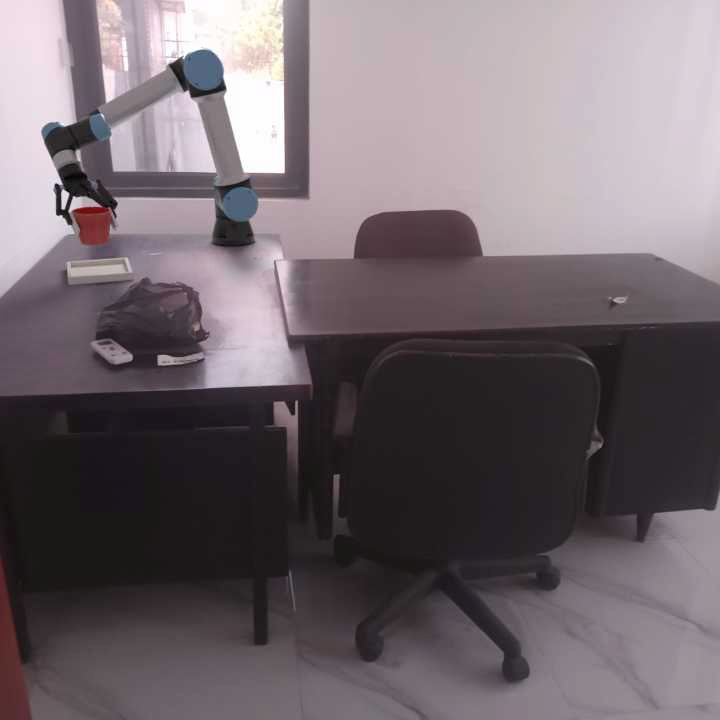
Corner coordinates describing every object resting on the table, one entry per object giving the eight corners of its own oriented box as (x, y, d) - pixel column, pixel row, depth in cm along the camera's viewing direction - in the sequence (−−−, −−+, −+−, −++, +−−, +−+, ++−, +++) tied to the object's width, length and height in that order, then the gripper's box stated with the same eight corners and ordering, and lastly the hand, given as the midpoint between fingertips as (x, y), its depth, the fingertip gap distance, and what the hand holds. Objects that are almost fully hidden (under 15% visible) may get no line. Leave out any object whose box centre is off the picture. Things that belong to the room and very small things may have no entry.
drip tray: (128, 264, 236) (127, 257, 235) (133, 279, 221) (132, 272, 220) (67, 268, 230) (66, 261, 229) (68, 285, 215) (67, 277, 214)
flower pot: (107, 247, 217) (103, 214, 213) (69, 246, 217) (65, 213, 213) (119, 239, 226) (115, 207, 223) (83, 237, 227) (79, 205, 223)
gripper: (105, 174, 233) (131, 232, 228) (28, 180, 219) (55, 243, 214) (110, 158, 227) (137, 218, 222) (32, 164, 213) (59, 228, 208)
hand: (97, 230), depth 218 cm, fingers closed on flower pot, 11 cm apart
